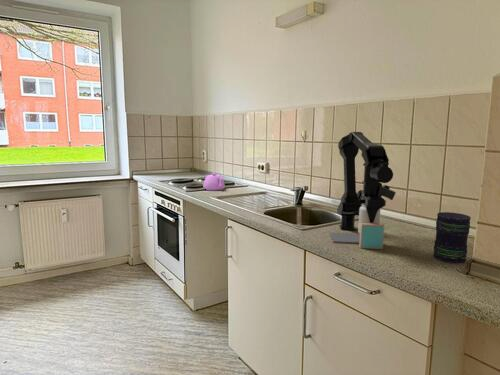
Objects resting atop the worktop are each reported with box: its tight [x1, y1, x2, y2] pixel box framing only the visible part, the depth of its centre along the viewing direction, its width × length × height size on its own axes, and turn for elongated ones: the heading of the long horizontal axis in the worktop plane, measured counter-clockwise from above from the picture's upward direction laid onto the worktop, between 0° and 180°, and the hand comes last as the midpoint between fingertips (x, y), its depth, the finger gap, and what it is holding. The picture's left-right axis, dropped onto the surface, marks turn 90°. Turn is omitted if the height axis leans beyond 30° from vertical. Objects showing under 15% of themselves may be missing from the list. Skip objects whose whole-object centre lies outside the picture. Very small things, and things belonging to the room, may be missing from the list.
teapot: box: [202, 172, 226, 192], centre depth 255 cm, size 22×16×12 cm
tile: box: [358, 223, 385, 250], centre depth 129 cm, size 2×8×9 cm, turn 84°
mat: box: [329, 232, 360, 245], centre depth 140 cm, size 12×12×1 cm
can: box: [357, 203, 381, 234], centre depth 133 cm, size 8×8×12 cm
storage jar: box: [432, 211, 471, 265], centre depth 118 cm, size 10×10×15 cm
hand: (369, 220), depth 133 cm, fingers closed on can, 7 cm apart
